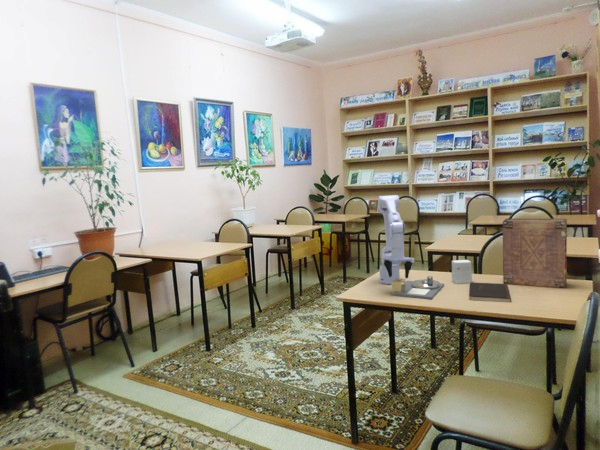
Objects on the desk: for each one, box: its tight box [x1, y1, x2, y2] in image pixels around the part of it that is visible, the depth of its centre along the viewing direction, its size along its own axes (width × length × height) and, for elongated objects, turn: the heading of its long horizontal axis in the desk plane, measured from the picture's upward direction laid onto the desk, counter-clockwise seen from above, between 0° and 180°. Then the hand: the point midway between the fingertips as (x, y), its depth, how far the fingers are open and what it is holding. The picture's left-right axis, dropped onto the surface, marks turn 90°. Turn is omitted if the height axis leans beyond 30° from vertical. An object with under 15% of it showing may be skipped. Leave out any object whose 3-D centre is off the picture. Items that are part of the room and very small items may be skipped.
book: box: [502, 218, 568, 290], centre depth 195 cm, size 25×9×30 cm, turn 58°
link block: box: [391, 278, 406, 293], centre depth 195 cm, size 4×6×5 cm, turn 149°
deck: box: [390, 280, 445, 300], centre depth 197 cm, size 18×24×1 cm
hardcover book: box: [468, 281, 512, 303], centre depth 186 cm, size 16×23×2 cm
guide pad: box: [407, 288, 430, 296], centre depth 191 cm, size 8×9×1 cm
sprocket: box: [411, 275, 440, 289], centre depth 200 cm, size 13×13×5 cm
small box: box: [451, 259, 473, 285], centre depth 207 cm, size 8×6×10 cm
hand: (398, 277), depth 194 cm, fingers open, 7 cm apart
